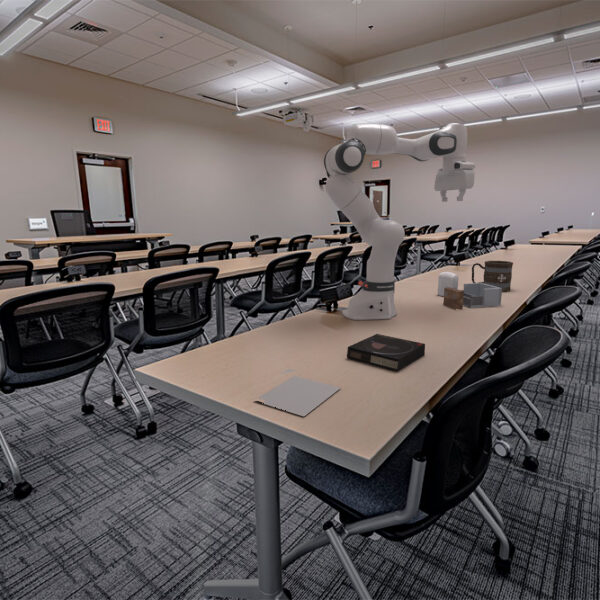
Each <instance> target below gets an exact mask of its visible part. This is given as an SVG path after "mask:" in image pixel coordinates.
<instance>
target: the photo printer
mask: <svg viewBox="0 0 600 600" xmlns="http://www.w3.org/2000/svg"><path fill="white" fill-rule="evenodd" d="M447 287H451V288H454V289H458V290H459V276H458V275H457V274H456V273H453V272H451V271H443V272H440V273H439V274H438V282H437V296H441V297H444V288H447Z"/></svg>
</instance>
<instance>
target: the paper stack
mask: <svg viewBox="0 0 600 600" xmlns="http://www.w3.org/2000/svg"><path fill="white" fill-rule="evenodd" d="M295 371H297V370H295V369H293V368H288V369H286V370H285V371H283V372H281V373H280V375H282V374H286V373H291V372H295ZM340 389H341V387H339V386H336V385H332V384H328V383H324V382H321V381H317V380H312V379H308V378H305V377H301V376H297V375H294V376H291V377H290V378H288V379H287V380H285V381H284V382H282V383H280V384H278V385H277V386H275V387H274V388H272V389H270V390H269V391H267V392H265V393H264V394H262V395H260V396H259V397H258V398H259V399H260V400H261V398H262V399H263V400H265V401H264V402H265V403H264V404H263V405H266V406H269V407H272V408H275V407H276V409H279V410H281V409H282V410H283V411H285V410H286V411H285V412H289V413H292V414H295V415H298V416H301V417H305V416H306V415H308V414H310V412H312V411H313V410H314V409H316V408H317V407H318V406H320V405H321V404H322V403H323V402H325V401H326V400H327V399H328V398H330V397H331V396H333V395H334V394H335V393H336V392H338V391H339V390H340Z"/></svg>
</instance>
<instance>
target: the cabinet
mask: <svg viewBox="0 0 600 600" xmlns="http://www.w3.org/2000/svg"><path fill="white" fill-rule="evenodd" d="M460 290H461V291H464V295H463V305H464V307H466V306H467V308H470V309H476V308H478V307H480V308H491V307H501V306H502V294H503V293H502V288H499V287H495V286H491V285H487V284H483V283H479V282H476V283H473V282H472V283H471V282H469V283H463V290H462V289H460Z"/></svg>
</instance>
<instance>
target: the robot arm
mask: <svg viewBox="0 0 600 600" xmlns="http://www.w3.org/2000/svg"><path fill="white" fill-rule="evenodd" d="M467 148H468V130H467V126H466V125H465V124H463V123H461V122H451V123H448V124H446V126H444V127H443V128H441V129H439V130H436V131H435V132H431V133H429V134H426V135H422V136H418V137H416V138H413V139H412V138H404V137H398V133H397V131H396V129H395V128H394V126H391V125H387V124H384V123H383V124H382V123H364V122H363V123H357V124H353V125H352V126H350V127H349V129H348V131H347V134H346V140H345V142H342V143H339V144H336V145H335V146H332V147H331V148H330V149H328V151H327V152H326V153H325V155H324V157H323V166H324V168H325V169H324V170H326V171H325V172H326V176H327V177H328V179H327V181H326V183H325V186H324V187H325V188H324V189H325V192H326V194H327V195H328V197H329V198H330V199H331V201H332V203H333V204H334V206H336V208H338V210H340V212H341V213H342V214H343V215H344V216H345V217H346V218H347V219H348V220H349V222H351V224H352V225H353V226H354V228H355V230H356V231H357V233H358V234H359V236H360V238H361V240H362V241H363V242H365V243H366V244H367V245H369V246H372V248H371V251H370V256H369V258H368V259H367V261H366V280H365V281H362V280H359V281H358V283H357V284H358V287H361V288H362V289H360V291H358V292H357V293H356V294H355V295H353V296H352V297H351V298H350V299H349V301H348V303H347V309H344V310H342V316H344V317H345V318H347V319H349V320H354V321H363V320H365V321H367V320H368V321H369V320H391V319H392V318H393V317H395V316H396V315H397V314H398V313H397V309H396V306H395V305H396V304H395V297H394V296H395V288H396V285H395V282H396V281H395V280H394V279H395V264H396V263H395V262H396V256H397V253H398V250H399V246H401V244H402V243H403V241H404V239H405V229H404V227H403V225H402V224H400V223H399V222H397V221H396V220H392V219H384V218H382V217H380V216H379V214H378V212H377V211H376V208H375V204H374V203H373V201H372V200H371V199H370V198H369V197H368V196H367V194H366V193H364V191H363V190H362V189H361V188H360V186H358V185H357V184H356V183H355V181H354V179H353V175H352V173H355V171H357V170H359V169H360V168H361V166H362V165H363V162H364V159H365V156H366V155H372V156H373V155H374V156H385V155H391V154H394V155H402V156H409V157H411V158H413V160H414V159H415V160H416V161H418V162H421V163H422V162H423V163H424V162H426V161H427V162H428V161H429V160H433V159H436V158H440V157H442V168H439V169H438V171H437V173H436V175H435V178H434V179H435V180H434V186H433V189H434V190H435V192H439V193H440V196H441V202H442V203H445V202H448V197H447V195H446V194H447V191H456V190H458V193H459V194H458V196H456V201H457V202H463V201H464V196H465V194H466V193H467V192H466V191H467V190H469V189H472V188H473V187H474V184H475V171H474V169H475V168H476V165H475V163H474V162H471V161H468V160H467V154H466V150H467Z"/></svg>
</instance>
